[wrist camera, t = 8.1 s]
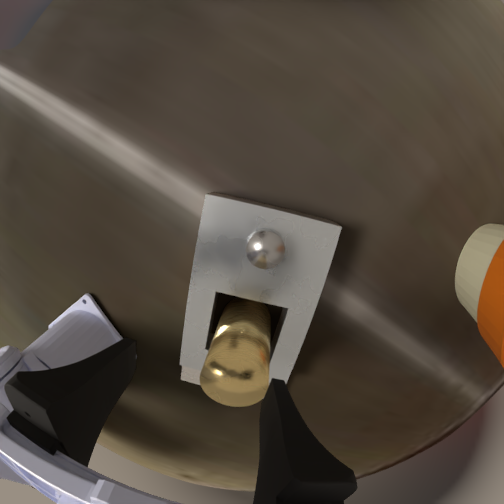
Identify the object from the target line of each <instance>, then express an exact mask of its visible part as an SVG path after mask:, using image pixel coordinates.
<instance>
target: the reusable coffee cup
mask: <svg viewBox="0 0 504 504" xmlns="http://www.w3.org/2000/svg"><path fill="white" fill-rule="evenodd" d="M455 290H456V294H457V297H458V299H459V302H460V303H461V304H462V305H463V306H464V307H465V309H466V310H467V311H468V312H469V313H470V315H471V316H472V317H473V318H474V320H475V321H476V322H477V323H478V329H479V332H480V335H481V336H482V337H483V339H484V340H485V342H486V343H487V344H488V346H489V347H490V349H491V350H492V351H493V353H494V354H495V356H496V357H497V359H498V360H499V362H500V363H501V365H502V366H503V368H504V225H500V224H491V223H490V224H485V225H483V226H481V227H479V228H478V229H477V230H476V231H475V232H474V233H473V234H472V235H471V236H470V237H469V239H468V241H467V242H466V244H465V245H464V248H463V250H462V252H461V254H460V257H459V260H458V263H457V268H456V274H455Z"/></svg>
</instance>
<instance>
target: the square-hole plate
mask: <svg viewBox="0 0 504 504" xmlns="http://www.w3.org/2000/svg"><path fill="white" fill-rule="evenodd" d="M341 229H342V227H341V226H340V225H339V224H337V223H336V222H335V221H332V220H328V219H325V218H321V217H317V216H313V215H310V214H306V213H302V212H298V211H294V210H290V209H286V208H282V207H278V206H274V205H270V204H266V203H261V202H257V201H253V200H249V199H244V198H240V197H235V196H231V195H226V194H222V193H217V192H211V193H208V194H206V196H205V201H204V206H203V211H202V216H201V222H200V227H199V233H198V238H197V244H196V250H195V255H194V261H193V268H192V274H191V280H190V287H189V293H188V300H187V307H186V315H185V322H184V330H183V338H182V347H181V356H180V365H182V372H181V380H183V381H187V382H190V383H194V384H198V385H200V373H201V370H202V368H203V365H204V362H205V359H206V356H207V354H208V351H209V348H210V345H211V343H212V340H213V337H214V334H211V330H212V325H213V320H214V315H215V309H216V304H217V299H218V294H219V292H220V293H225V294H229V295H233V296H237V297H241V298H245V299H250V300H254V301H258V302H263V303H267V304H271V305H276V306H281V307H283V308H282V312H281V315H280V318H279V321H278V324H277V327H276V331H275V334H274V337H273V340H272V343H271V346H270V366H269V384H270V382H271V379H272V378H275V379H280V380H284V381H285V383H287V381H288V379H289V376H290V374H291V371H292V369H293V367H294V364H295V362H296V359H297V357H298V354H299V352H300V349H301V347H302V344H303V342H304V339H305V336H306V334H307V331H308V328H309V326H310V323H311V320H312V318H313V315H314V312H315V309H316V307H317V304H318V301H319V298H320V295H321V292H322V289H323V286H324V283H325V280H326V277H327V274H328V271H329V268H330V265H331V262H332V259H333V255H334V252H335V249H336V246H337V242H338V239H339V235H340V232H341ZM263 399H264V398H263Z"/></svg>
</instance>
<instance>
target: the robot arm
mask: <svg viewBox="0 0 504 504" xmlns="http://www.w3.org/2000/svg"><path fill="white" fill-rule="evenodd" d="M85 300H86V302H85ZM136 358H137V355H136V341H135V340H132V339H130V338H127V337H125V338H124V339H123V338H122V337H121V335H120V334H119V333H118V332H117V330H116V329H115V328H114V326H113V325H112V324H111V322H110V321H109V320H108V318H107V317H106V316H105V314H104V313H103V312H102V310H101V309H100V307H99V306H98V305H97V303H96V302H95V300H94V299H93V297H92V296H91V295H90V294H88V293H87V294H85V295H84V296H83V297H82V298H80V299H79V300H78V301H77V302H76V303H74V304H73V305H72V306H71V307H70V308H68V309H67V310H66V311H65V312H64V313H63V314H61V315H60V316H59V317H58V318H57V319H56V320H55V321H53V322H52V323H51V324H50V325H49V330H47V331H46V332H45V333H44V334H43V335H41V336H40V337H39V338H38V339H37V340H35V341H34V342H33V343H32V344H31V345H30V346H28V347H27V348H26V349H25V350H24V351H23V352H21V353H20V351H19V349H18V348H17V347H12V346H5V347H3V348H1V349H0V479H1V478H3V479H7V480H11V481H14V482H18V483H21V484H25V485H30V486H33V487H34V488H36V489H37V490H38V491H40V492H41V493H43V494H44V495H45V496H47V497H48V498H50V499H51V500H52V501H54V502H55V503H57V504H181V503H178V502H174V501H170V500H167V499H164V498H161V497H157V496H154V495H151V494H148V493H145V492H142V491H140V490H137V489H135V488H132V487H129V486H127V485H125V484H122V483H120V482H117V481H115V480H113V479H110V478H108V477H106V476H104V475H102V474H99V473H97V472H96V471H93V470H92V469H89V468H88V463H89V460H90V457H91V454H92V452H93V449H94V446H95V444H96V441H97V439H98V437H99V434H100V432H101V430H102V427H103V425H104V423H105V421H106V419H107V417H108V415H109V413H110V412H111V410H112V408H113V407H114V405H115V404H116V402H117V401H118V399H119V398H120V396H121V395H122V393H123V392H124V390H125V389H126V387H127V386H128V384H129V383H130V380H131V378H132V376H133V374H134V372H135V370H136ZM356 489H357V482H356V478H355V475H354V472H353V470H351V469H350V468H348V467H347V466H346V465H344V464H343V463H341V462H340V461H339V460H338V459H336V458H335V457H334V456H333V455H332V454H331V453H330V452H329V451H328V450H327V449H326V448H325V447H324V446H323V445H322V444H321V443H320V442H319V441H318V440H317V439H316V437H315V436H314V435H313V434H312V432H311V431H310V429H309V428H308V427H307V425H306V424H305V422H304V420H303V419H302V417H301V415H300V413H299V412H298V410H297V408H296V406H295V404H294V402H293V400H292V398H291V395H290V393H289V391H288V388H287V386H286V383H285V381H284V380H280V379H275V378H272V379H271V382H270V384H269V387H268V389H267V392H266V394H265V396H264V399H263V401H262V404H261V412H260V459H259V468H258V476H257V483H256V490H255V496H254V502H253V504H344V500H345V499H346V498H348V497H349V496H350V495H352V494H353V493H354V492H355V491H356Z"/></svg>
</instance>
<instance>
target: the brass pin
mask: <svg viewBox="0 0 504 504" xmlns="http://www.w3.org/2000/svg"><path fill="white" fill-rule="evenodd" d="M270 334H271V315H270V312H269V310H268V308H267V307H266V305H265V304H264V303H262V302H258V301H254V300H250V299H245V298H241V297H238V298H235V299H233V300H231V301H230V302H229V303H228V304H227V305H226V306H225V307H224V310H223V312H222V315H221V318H220V320H219V323H218V326H217V329H216V331H215V334H214V337H213V340H212V343H211V345H210V348H209V351H208V354H207V356H206V359H205V362H204V365H203V368H202V370H201V373H200V385H201V387H202V389H203V391H204V392H205V393H206V394H207V395H208V396H209V397H210V398H212V399H213V400H215V401H216V402H219V403H221V404H224V405H227V406H233V407H244V406H249V405H253V404H255V403H257V402H259V401H260V400H262V399H263V398H264V396H265V394H266V392H267V389H268V387H269V366H270Z"/></svg>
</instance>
